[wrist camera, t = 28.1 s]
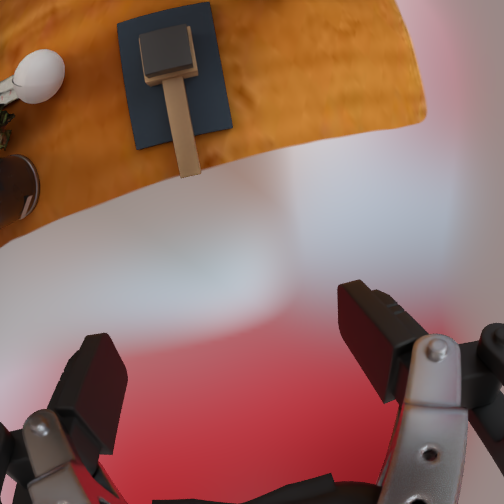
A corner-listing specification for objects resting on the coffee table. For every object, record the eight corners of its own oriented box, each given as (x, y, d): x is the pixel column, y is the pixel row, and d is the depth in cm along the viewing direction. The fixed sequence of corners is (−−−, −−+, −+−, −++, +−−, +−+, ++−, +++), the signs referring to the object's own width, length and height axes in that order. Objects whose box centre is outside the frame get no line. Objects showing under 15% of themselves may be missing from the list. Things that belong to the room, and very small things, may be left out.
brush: (168, 179, 35) (162, 185, 31) (143, 45, 29) (134, 32, 24) (215, 169, 36) (217, 173, 31) (191, 33, 29) (189, 19, 24)
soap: (31, 68, 27) (28, 66, 26) (29, 95, 28) (26, 94, 27) (-15, 92, 26) (-18, 91, 25) (-16, 118, 27) (-20, 117, 27)
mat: (138, 149, 34) (136, 150, 33) (118, 26, 28) (116, 23, 27) (232, 128, 35) (233, 127, 34) (209, 4, 28) (209, 1, 27)
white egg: (27, 62, 20) (24, 119, 25) (80, 50, 25) (71, 102, 30) (1, 48, 20) (-3, 97, 25) (45, 38, 26) (39, 82, 31)
